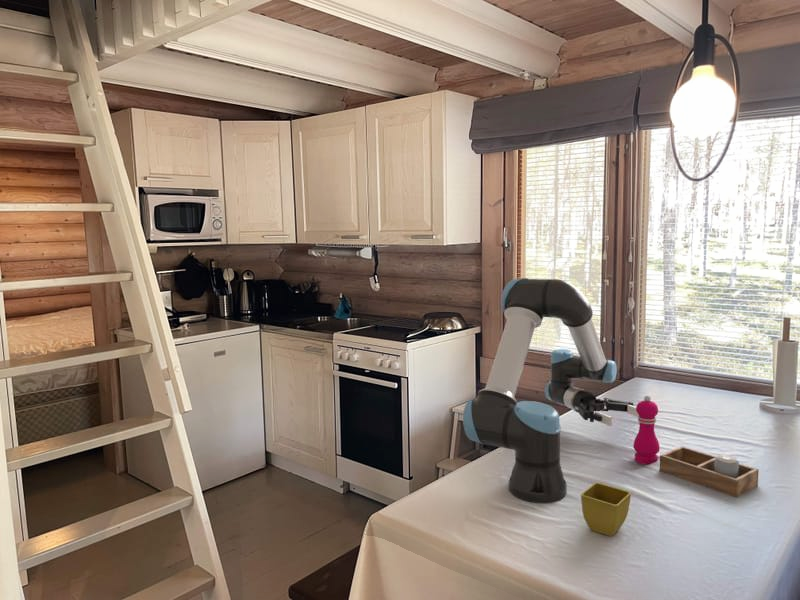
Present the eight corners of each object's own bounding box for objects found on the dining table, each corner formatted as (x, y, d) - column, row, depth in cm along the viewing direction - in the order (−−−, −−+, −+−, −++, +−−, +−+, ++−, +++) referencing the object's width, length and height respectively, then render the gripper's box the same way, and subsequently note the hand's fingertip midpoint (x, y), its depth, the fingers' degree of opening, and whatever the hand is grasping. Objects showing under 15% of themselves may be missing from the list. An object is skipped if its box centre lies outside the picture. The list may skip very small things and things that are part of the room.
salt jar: (731, 490, 154) (732, 463, 153) (709, 483, 159) (710, 457, 158) (742, 484, 158) (743, 458, 157) (720, 478, 162) (721, 452, 161)
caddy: (736, 501, 151) (737, 480, 150) (659, 473, 168) (659, 455, 168) (757, 489, 157) (758, 469, 156) (681, 464, 174) (681, 446, 174)
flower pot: (631, 528, 139) (632, 491, 138) (616, 543, 133) (617, 505, 132) (595, 516, 145) (595, 481, 144) (579, 531, 139) (579, 494, 138)
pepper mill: (654, 456, 181) (656, 392, 178) (662, 465, 174) (664, 399, 171) (630, 456, 182) (631, 392, 179) (637, 465, 175) (638, 399, 172)
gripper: (608, 405, 208) (657, 423, 189) (551, 417, 198) (596, 436, 179) (608, 384, 208) (657, 400, 188) (551, 395, 197) (596, 412, 178)
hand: (627, 417), depth 184 cm, fingers open, 13 cm apart
